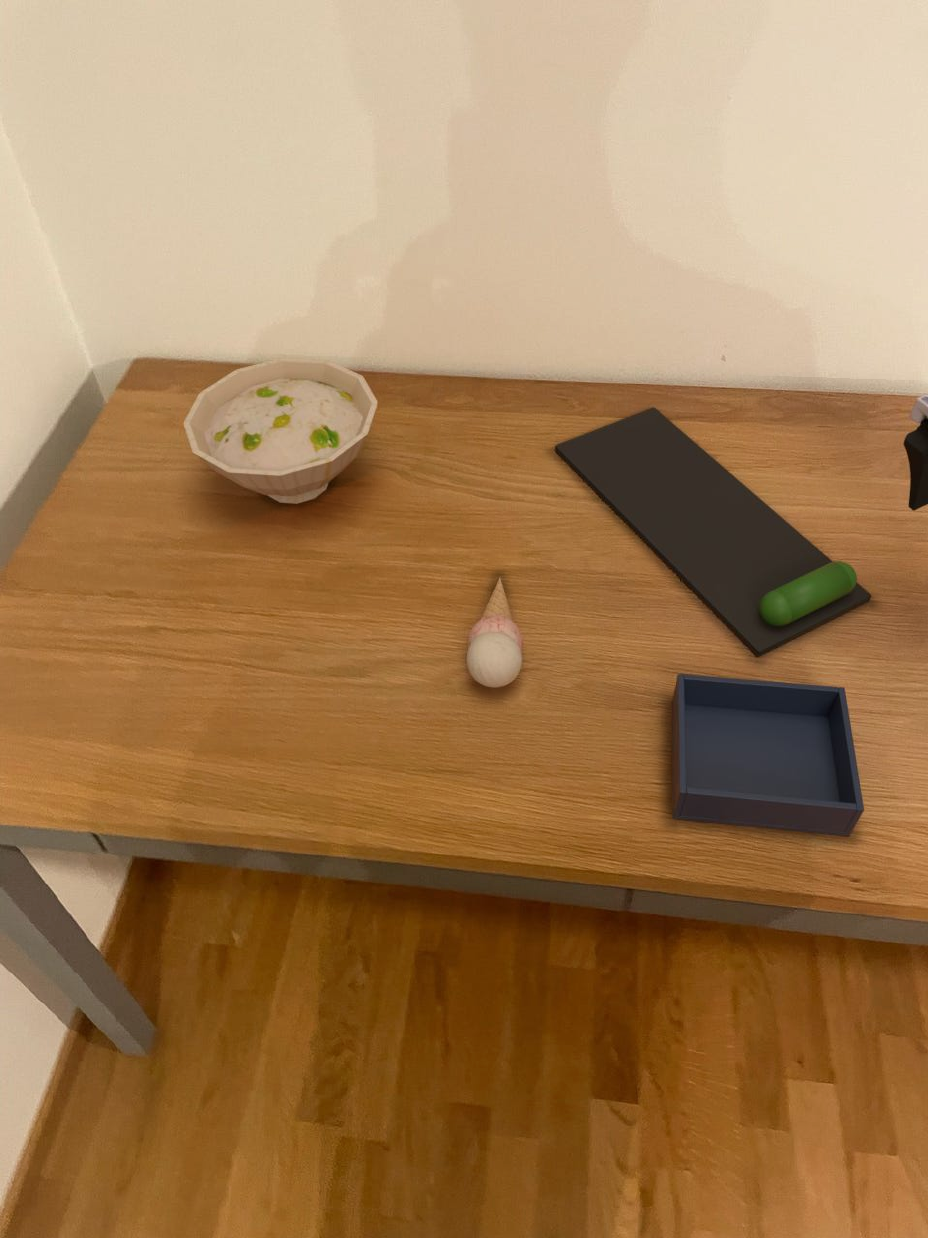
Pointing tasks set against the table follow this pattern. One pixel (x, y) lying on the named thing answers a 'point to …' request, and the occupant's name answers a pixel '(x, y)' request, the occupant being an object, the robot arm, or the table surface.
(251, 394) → the bowl
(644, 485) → the mat
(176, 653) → the table surface
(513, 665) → the ice cream cone
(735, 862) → the table surface
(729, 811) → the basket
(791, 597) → the cucumber
